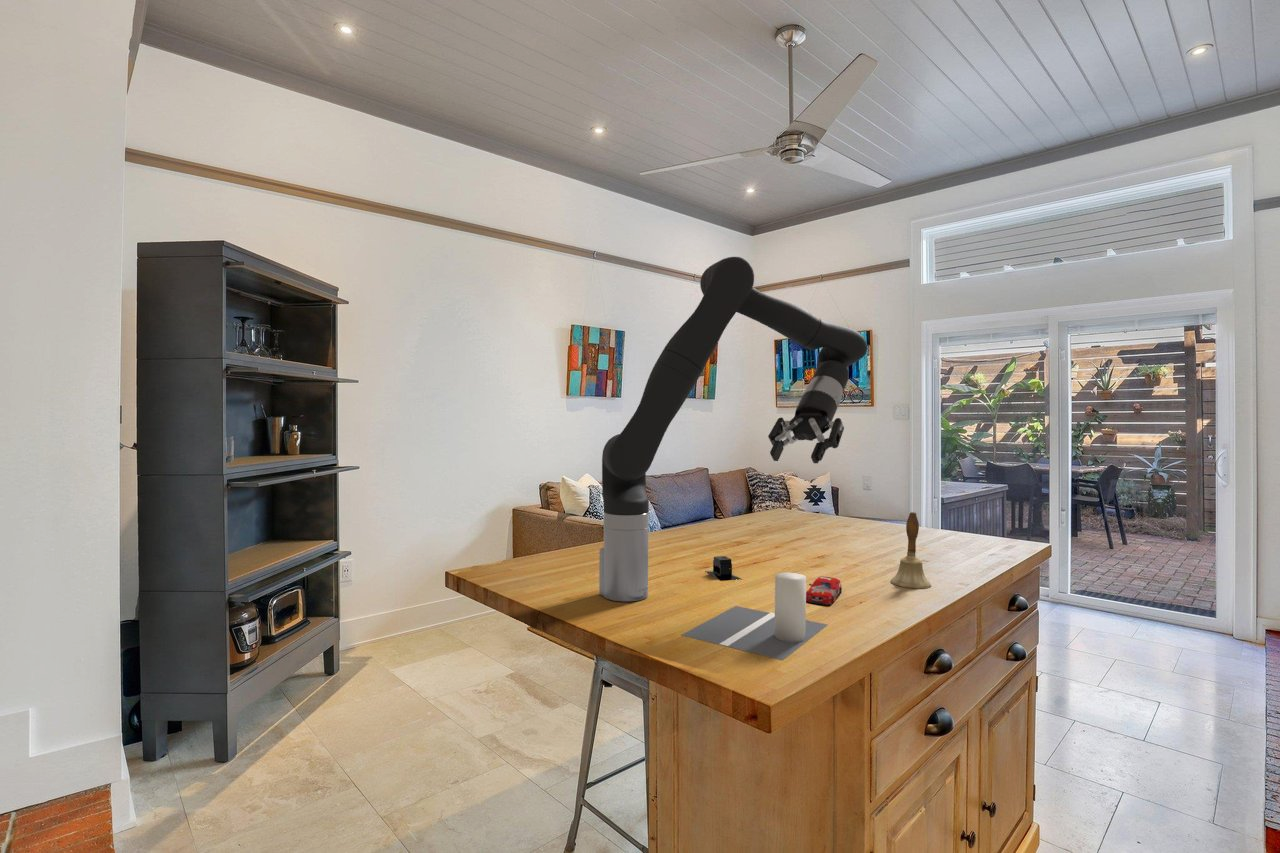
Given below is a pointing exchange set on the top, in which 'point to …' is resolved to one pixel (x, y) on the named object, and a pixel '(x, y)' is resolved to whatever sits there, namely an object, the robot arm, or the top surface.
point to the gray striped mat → (750, 632)
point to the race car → (824, 591)
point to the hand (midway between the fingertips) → (793, 459)
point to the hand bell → (911, 560)
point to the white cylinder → (790, 607)
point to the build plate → (722, 569)
